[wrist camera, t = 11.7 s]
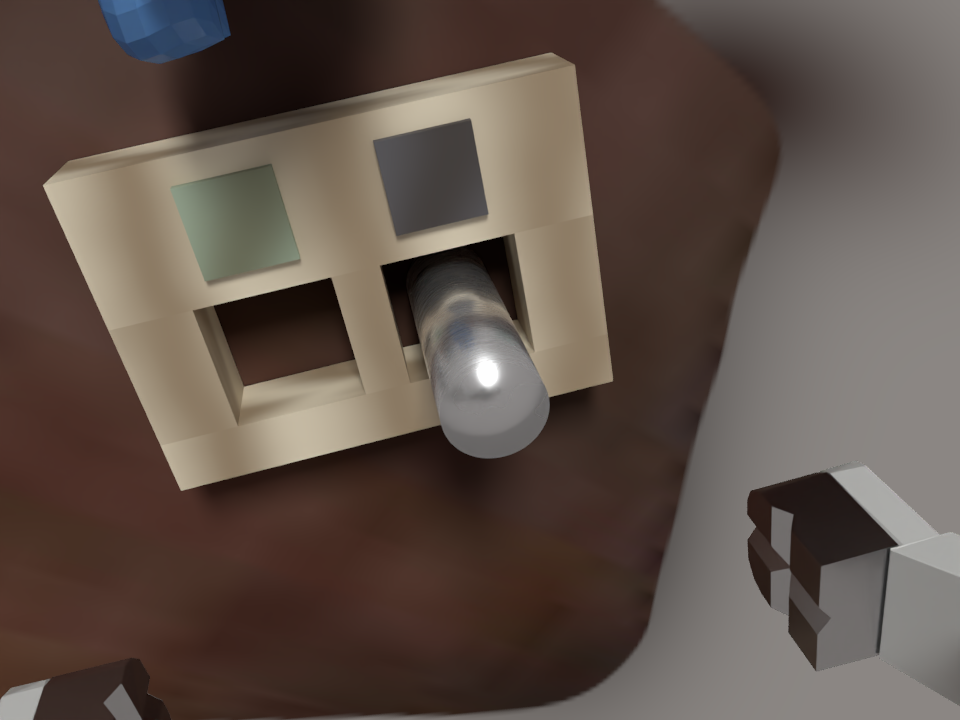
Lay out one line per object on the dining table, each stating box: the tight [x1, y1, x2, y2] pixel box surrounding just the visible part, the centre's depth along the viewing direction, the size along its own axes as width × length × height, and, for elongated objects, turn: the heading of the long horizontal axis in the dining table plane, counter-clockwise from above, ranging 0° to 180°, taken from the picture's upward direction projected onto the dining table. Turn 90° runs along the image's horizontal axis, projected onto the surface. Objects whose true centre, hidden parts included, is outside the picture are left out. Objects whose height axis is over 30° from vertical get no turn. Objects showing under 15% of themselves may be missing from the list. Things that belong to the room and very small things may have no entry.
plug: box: [406, 246, 550, 458], centre depth 28 cm, size 3×3×10 cm
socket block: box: [43, 53, 613, 491], centre depth 30 cm, size 17×12×3 cm
